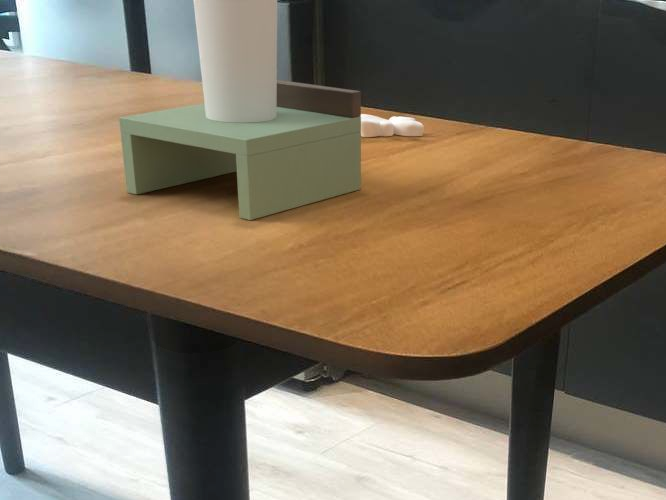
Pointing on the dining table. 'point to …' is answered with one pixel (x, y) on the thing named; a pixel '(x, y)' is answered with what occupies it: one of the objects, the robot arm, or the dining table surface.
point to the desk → (253, 149)
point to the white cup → (238, 58)
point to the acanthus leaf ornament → (389, 126)
